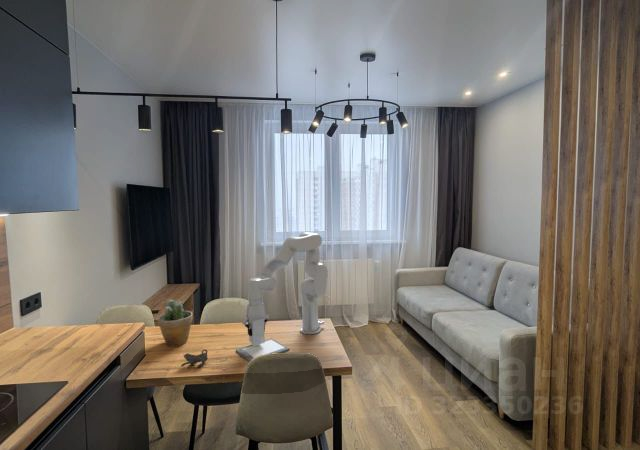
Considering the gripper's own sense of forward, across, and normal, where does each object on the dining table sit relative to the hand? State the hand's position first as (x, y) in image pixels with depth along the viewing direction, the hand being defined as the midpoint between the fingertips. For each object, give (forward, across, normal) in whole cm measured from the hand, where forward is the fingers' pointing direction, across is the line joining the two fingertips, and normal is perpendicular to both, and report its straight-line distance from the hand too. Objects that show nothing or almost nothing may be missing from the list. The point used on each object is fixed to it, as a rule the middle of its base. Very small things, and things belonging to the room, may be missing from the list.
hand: (256, 333), depth 184 cm
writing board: (+8, 0, +6) cm, 10 cm away
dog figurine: (+8, +33, -2) cm, 34 cm away
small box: (+5, 0, 0) cm, 5 cm away
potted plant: (+8, +31, -37) cm, 49 cm away
